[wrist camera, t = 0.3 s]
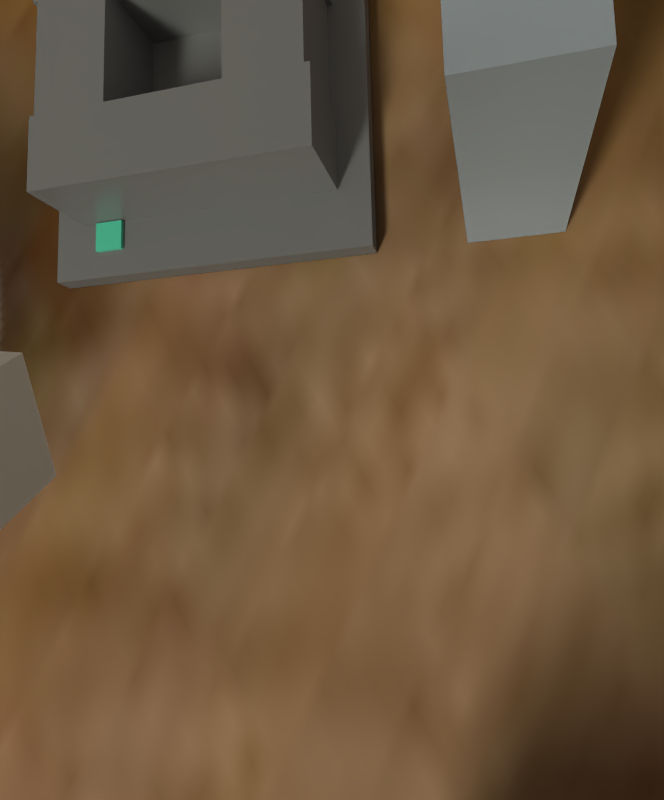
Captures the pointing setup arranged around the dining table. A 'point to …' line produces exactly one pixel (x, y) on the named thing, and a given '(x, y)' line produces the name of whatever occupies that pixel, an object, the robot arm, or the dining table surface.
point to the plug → (523, 106)
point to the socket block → (202, 134)
